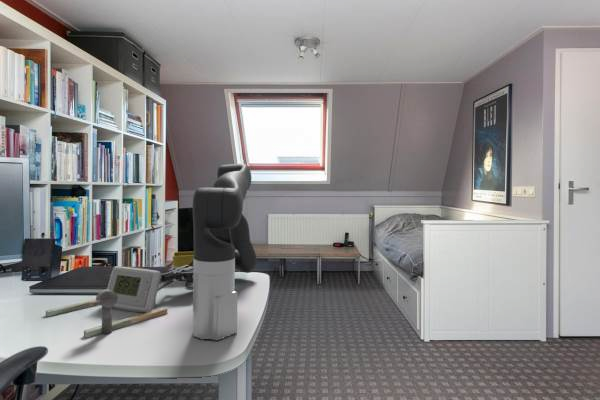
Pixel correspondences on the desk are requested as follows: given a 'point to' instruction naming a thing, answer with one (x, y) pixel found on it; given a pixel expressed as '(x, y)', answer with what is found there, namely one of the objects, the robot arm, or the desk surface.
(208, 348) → the desk surface
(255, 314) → the desk surface
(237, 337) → the desk surface
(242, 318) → the desk surface
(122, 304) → the digital clock
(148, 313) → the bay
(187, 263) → the flower pot
